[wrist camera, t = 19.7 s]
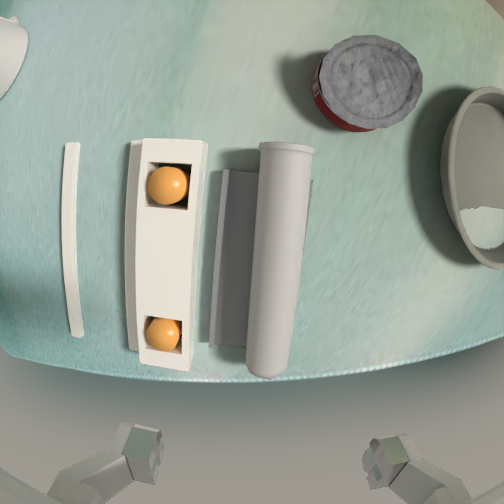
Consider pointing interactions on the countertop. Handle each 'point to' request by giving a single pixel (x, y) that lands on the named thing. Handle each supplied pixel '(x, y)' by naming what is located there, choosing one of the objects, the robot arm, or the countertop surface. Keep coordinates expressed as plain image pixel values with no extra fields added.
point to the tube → (277, 254)
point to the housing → (147, 247)
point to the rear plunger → (164, 333)
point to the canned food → (367, 83)
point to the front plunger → (169, 185)
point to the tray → (235, 258)
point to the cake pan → (475, 164)
